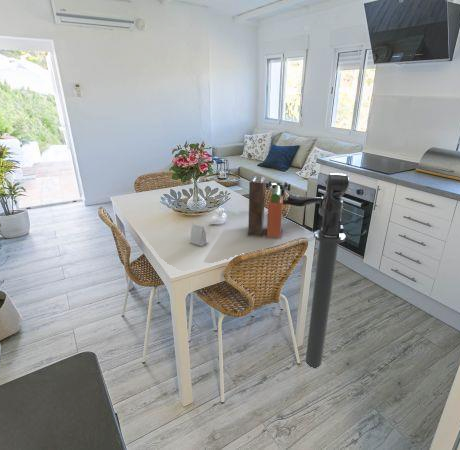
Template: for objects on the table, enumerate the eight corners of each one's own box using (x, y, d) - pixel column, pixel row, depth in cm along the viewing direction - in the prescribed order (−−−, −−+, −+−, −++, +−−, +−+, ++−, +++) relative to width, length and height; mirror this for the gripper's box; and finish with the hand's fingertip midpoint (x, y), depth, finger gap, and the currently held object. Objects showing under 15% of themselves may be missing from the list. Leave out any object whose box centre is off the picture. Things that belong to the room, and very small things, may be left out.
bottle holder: (280, 230, 179) (283, 195, 171) (279, 238, 168) (282, 201, 160) (268, 229, 180) (270, 194, 172) (266, 237, 169) (268, 200, 161)
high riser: (263, 228, 180) (265, 176, 168) (261, 237, 169) (263, 181, 157) (251, 227, 181) (252, 175, 169) (248, 236, 170) (249, 180, 158)
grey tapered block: (201, 246, 157) (200, 228, 153) (191, 243, 161) (190, 225, 157) (206, 243, 160) (205, 225, 156) (196, 240, 163) (195, 222, 159)
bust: (211, 230, 182) (219, 219, 174) (204, 220, 184) (211, 208, 176) (226, 224, 190) (234, 213, 182) (220, 214, 192) (227, 203, 184)
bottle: (281, 191, 179) (282, 183, 177) (279, 202, 160) (280, 193, 158) (273, 191, 180) (273, 183, 178) (270, 202, 161) (270, 193, 159)
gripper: (267, 184, 193) (265, 176, 177) (290, 185, 191) (291, 177, 175) (266, 196, 192) (264, 189, 176) (289, 197, 190) (290, 190, 174)
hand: (277, 183), depth 175 cm, fingers open, 8 cm apart
